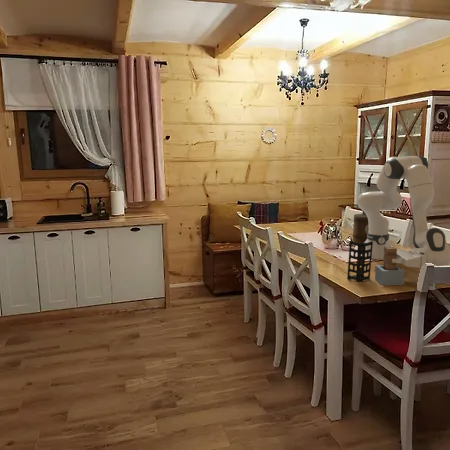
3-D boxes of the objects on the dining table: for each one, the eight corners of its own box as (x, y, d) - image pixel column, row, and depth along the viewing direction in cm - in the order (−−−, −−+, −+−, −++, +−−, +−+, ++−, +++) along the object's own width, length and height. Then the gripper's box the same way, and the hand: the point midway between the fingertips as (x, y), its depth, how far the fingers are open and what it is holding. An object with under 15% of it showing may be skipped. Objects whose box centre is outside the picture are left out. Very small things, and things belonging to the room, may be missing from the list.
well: (374, 279, 208) (375, 265, 207) (395, 278, 208) (395, 264, 207) (382, 285, 198) (382, 271, 197) (403, 284, 198) (404, 270, 197)
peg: (382, 278, 205) (383, 246, 202) (391, 278, 205) (393, 246, 202) (386, 281, 201) (387, 248, 198) (395, 281, 201) (396, 248, 198)
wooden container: (370, 244, 284) (372, 211, 280) (349, 241, 293) (350, 210, 289) (377, 240, 296) (379, 209, 292) (357, 237, 305) (358, 207, 301)
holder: (367, 276, 212) (369, 238, 207) (373, 282, 205) (375, 243, 199) (345, 277, 212) (347, 239, 206) (350, 283, 205) (352, 244, 199)
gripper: (408, 245, 210) (380, 246, 211) (427, 256, 190) (396, 256, 190) (407, 258, 212) (380, 258, 212) (426, 269, 191) (395, 270, 192)
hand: (388, 257), depth 201 cm, fingers open, 8 cm apart
